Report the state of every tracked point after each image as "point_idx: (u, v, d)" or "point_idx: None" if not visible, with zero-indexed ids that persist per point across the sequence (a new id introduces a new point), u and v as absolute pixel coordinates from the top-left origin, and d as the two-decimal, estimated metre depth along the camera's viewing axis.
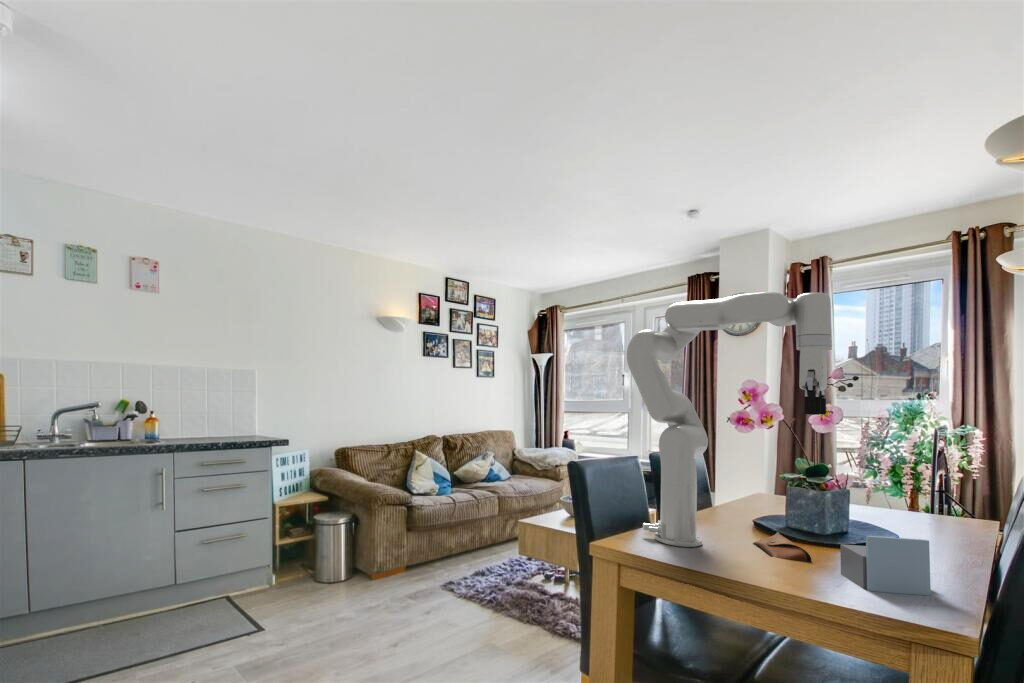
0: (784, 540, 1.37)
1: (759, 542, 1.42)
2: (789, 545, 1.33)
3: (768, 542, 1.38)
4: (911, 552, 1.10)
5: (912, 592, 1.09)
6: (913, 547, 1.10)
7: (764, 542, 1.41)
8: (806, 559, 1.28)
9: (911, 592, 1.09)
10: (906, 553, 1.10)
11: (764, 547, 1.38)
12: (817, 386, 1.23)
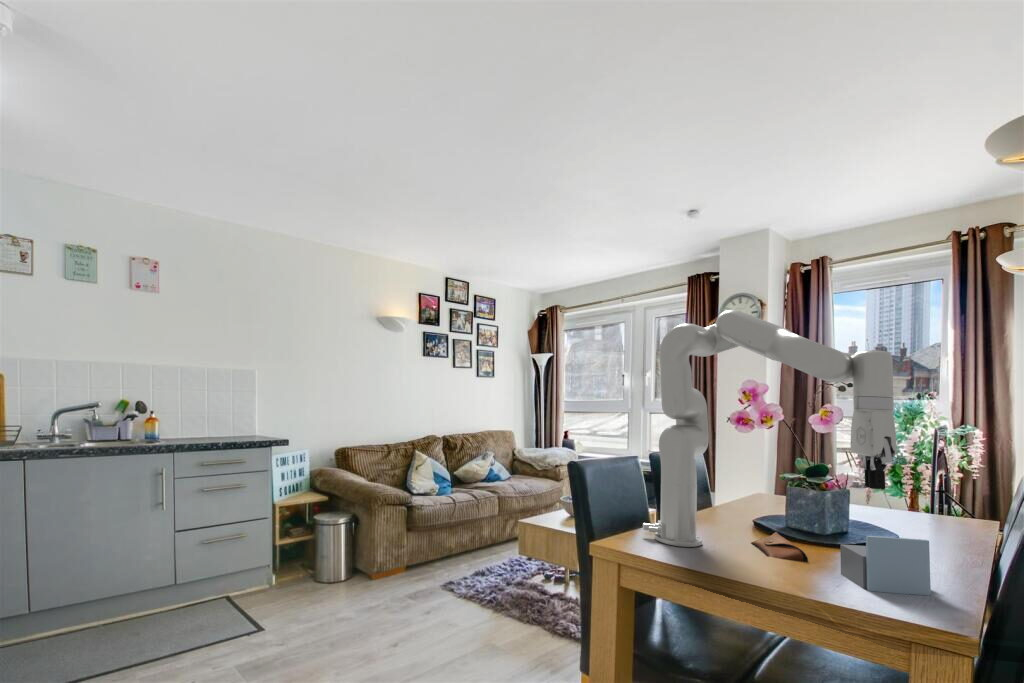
0: (781, 540, 1.37)
1: (757, 542, 1.43)
2: (786, 545, 1.33)
3: (765, 542, 1.39)
4: (911, 552, 1.10)
5: (912, 592, 1.09)
6: (913, 547, 1.10)
7: (762, 542, 1.41)
8: (802, 559, 1.29)
9: (911, 592, 1.09)
10: (906, 553, 1.10)
11: (762, 546, 1.38)
12: None
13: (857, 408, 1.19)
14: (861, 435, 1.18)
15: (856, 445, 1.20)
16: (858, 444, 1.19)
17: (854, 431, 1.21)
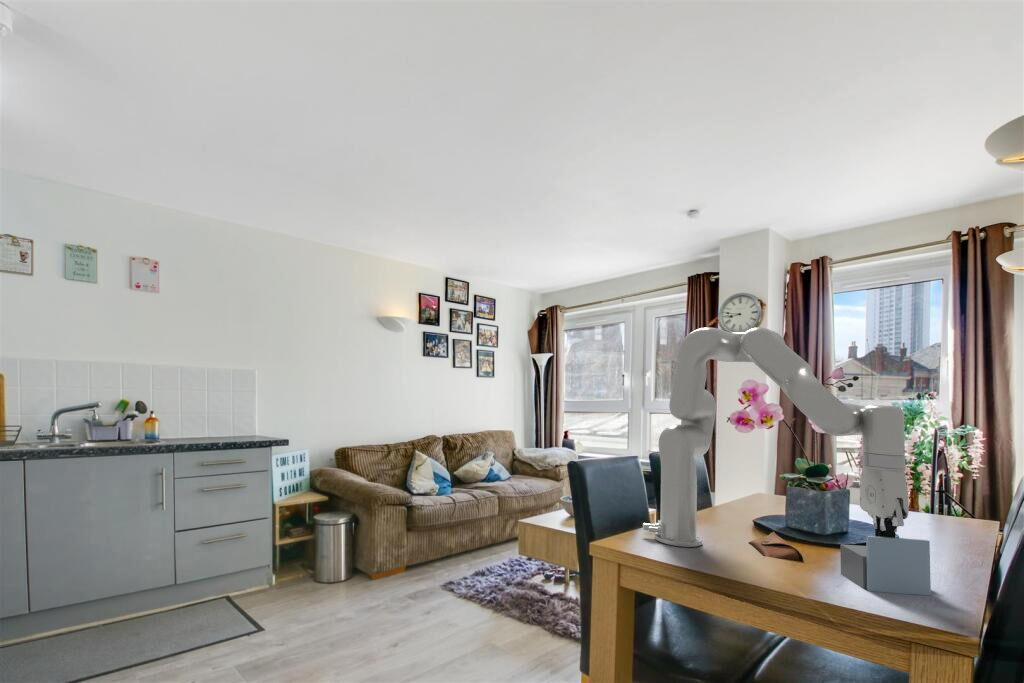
0: (778, 540, 1.37)
1: (754, 541, 1.43)
2: (782, 544, 1.33)
3: (762, 541, 1.39)
4: (911, 552, 1.09)
5: (912, 592, 1.09)
6: (913, 547, 1.09)
7: (759, 541, 1.41)
8: (798, 559, 1.29)
9: (911, 592, 1.09)
10: (907, 554, 1.09)
11: (758, 546, 1.39)
12: None
13: (867, 465, 1.14)
14: (871, 494, 1.14)
15: (866, 503, 1.16)
16: (868, 502, 1.15)
17: (863, 488, 1.17)
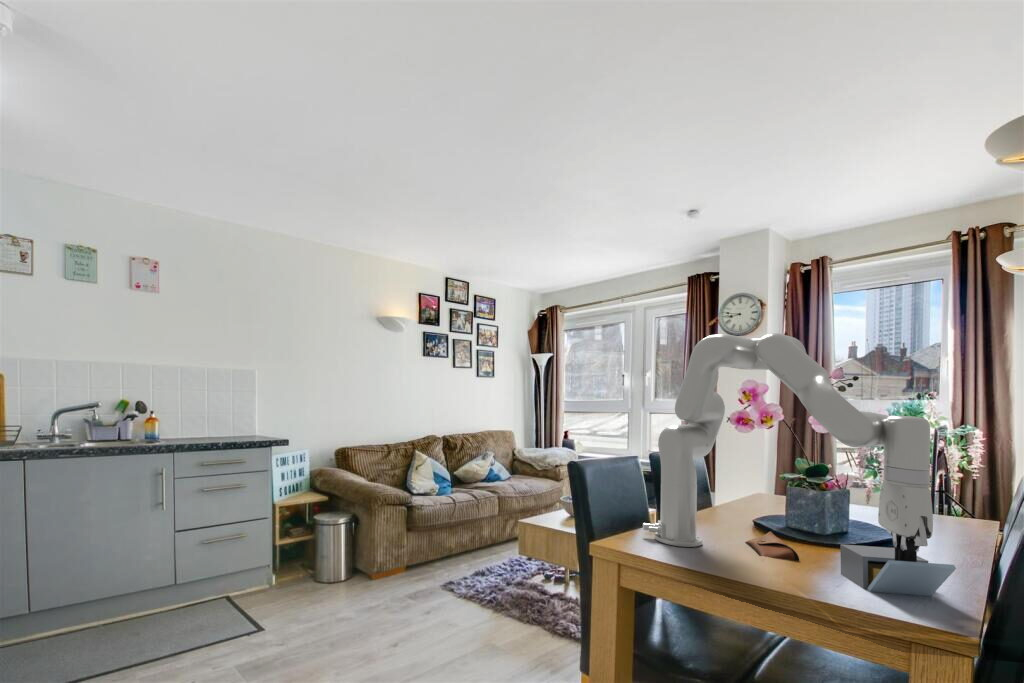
0: (774, 539, 1.37)
1: (751, 541, 1.43)
2: (778, 544, 1.34)
3: (758, 541, 1.39)
4: (930, 574, 1.04)
5: (912, 594, 1.09)
6: (935, 571, 1.03)
7: (755, 541, 1.41)
8: (794, 558, 1.29)
9: (911, 594, 1.09)
10: (924, 574, 1.04)
11: (755, 546, 1.39)
12: None
13: (889, 480, 1.07)
14: (892, 510, 1.06)
15: (885, 519, 1.08)
16: (888, 519, 1.08)
17: (883, 503, 1.09)
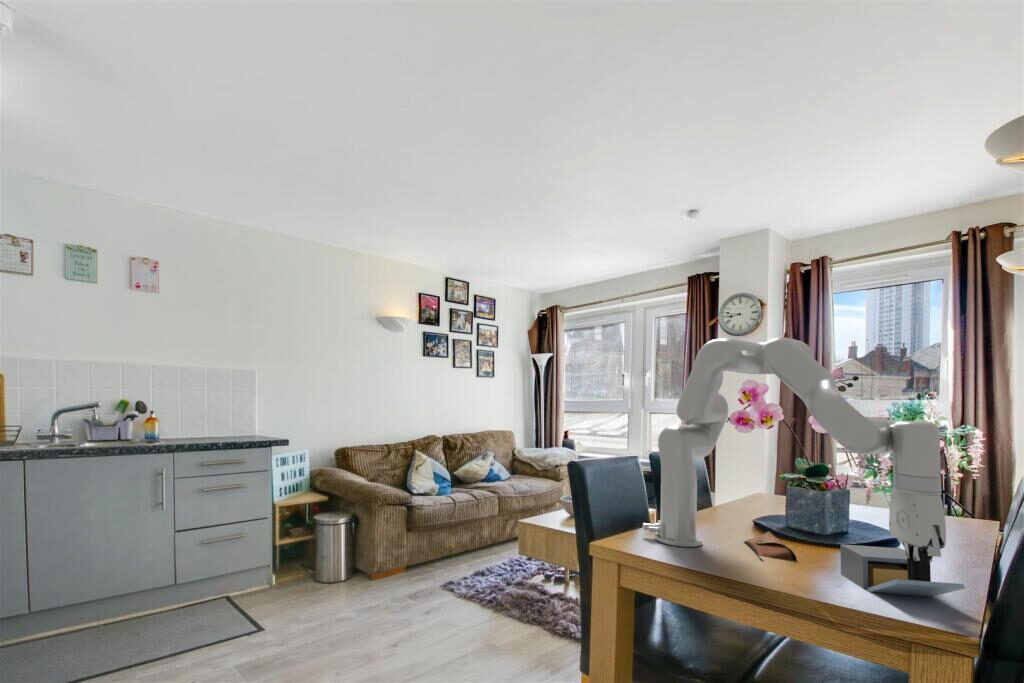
0: (772, 539, 1.37)
1: (749, 541, 1.43)
2: (776, 544, 1.34)
3: (756, 541, 1.39)
4: (936, 589, 1.02)
5: None
6: (942, 588, 1.01)
7: (753, 541, 1.41)
8: (791, 558, 1.29)
9: None
10: (930, 589, 1.02)
11: (753, 545, 1.39)
12: None
13: (898, 488, 1.03)
14: (903, 519, 1.03)
15: (896, 529, 1.05)
16: (899, 529, 1.04)
17: (894, 512, 1.06)
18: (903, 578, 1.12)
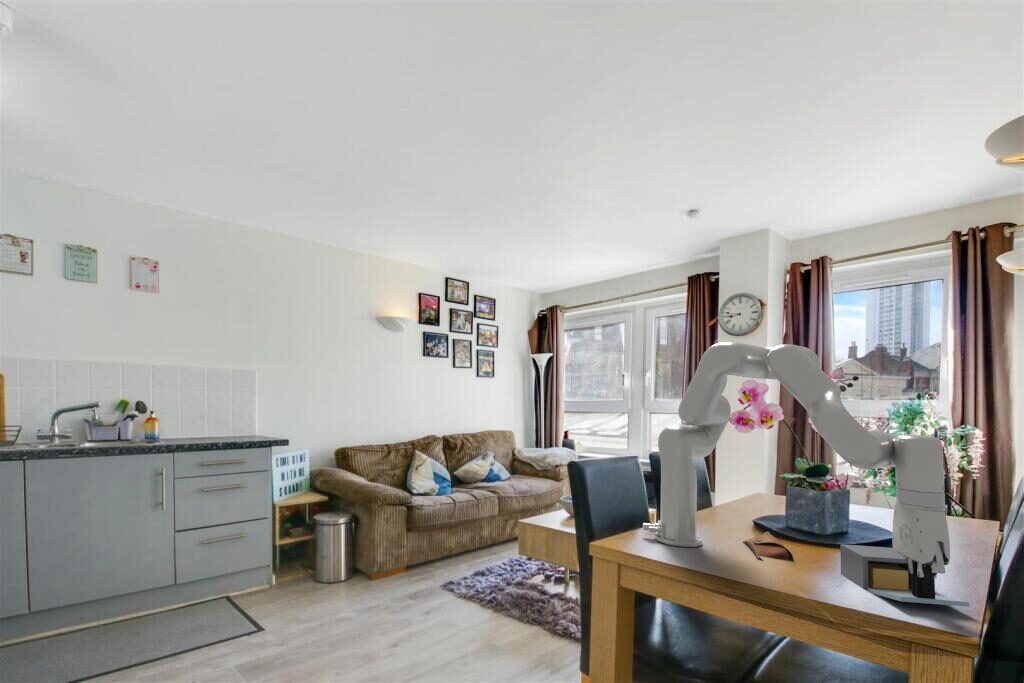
0: (770, 539, 1.37)
1: (748, 541, 1.43)
2: (773, 544, 1.34)
3: (755, 541, 1.39)
4: None
5: None
6: None
7: (752, 541, 1.42)
8: (788, 558, 1.29)
9: None
10: None
11: (751, 545, 1.39)
12: None
13: (901, 503, 1.02)
14: (906, 535, 1.02)
15: (900, 545, 1.03)
16: (903, 544, 1.03)
17: (897, 527, 1.05)
18: (903, 578, 1.12)
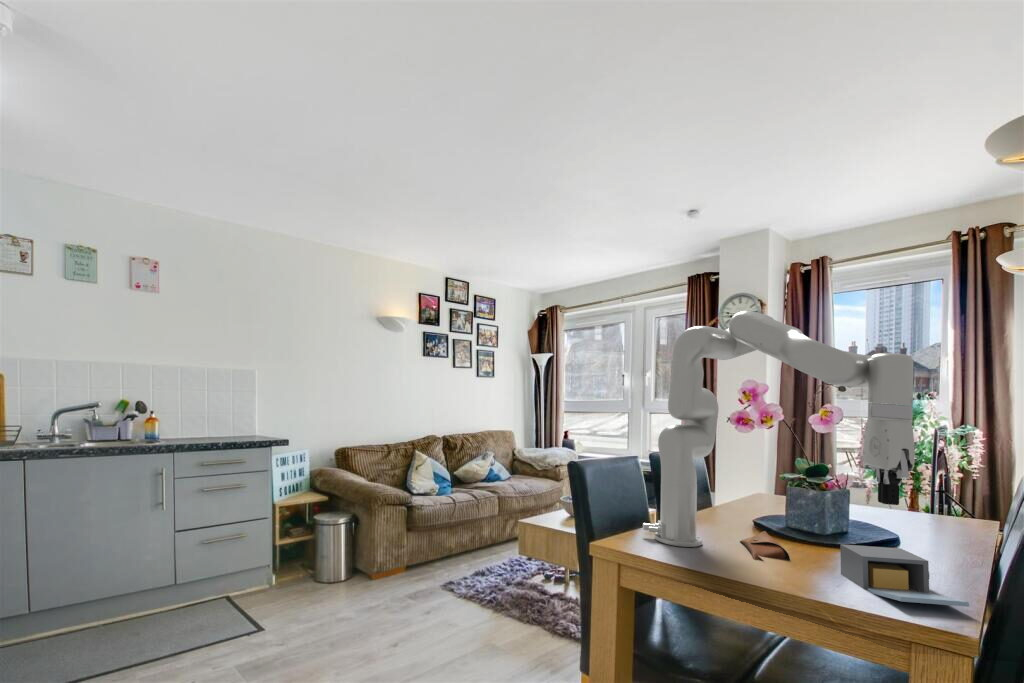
0: (767, 538, 1.38)
1: (744, 540, 1.44)
2: (770, 543, 1.34)
3: (751, 540, 1.40)
4: None
5: None
6: None
7: (748, 540, 1.42)
8: (784, 557, 1.29)
9: None
10: None
11: (747, 545, 1.39)
12: None
13: (872, 416, 1.08)
14: (875, 446, 1.08)
15: (869, 456, 1.10)
16: (871, 455, 1.09)
17: (867, 441, 1.11)
18: (903, 578, 1.12)
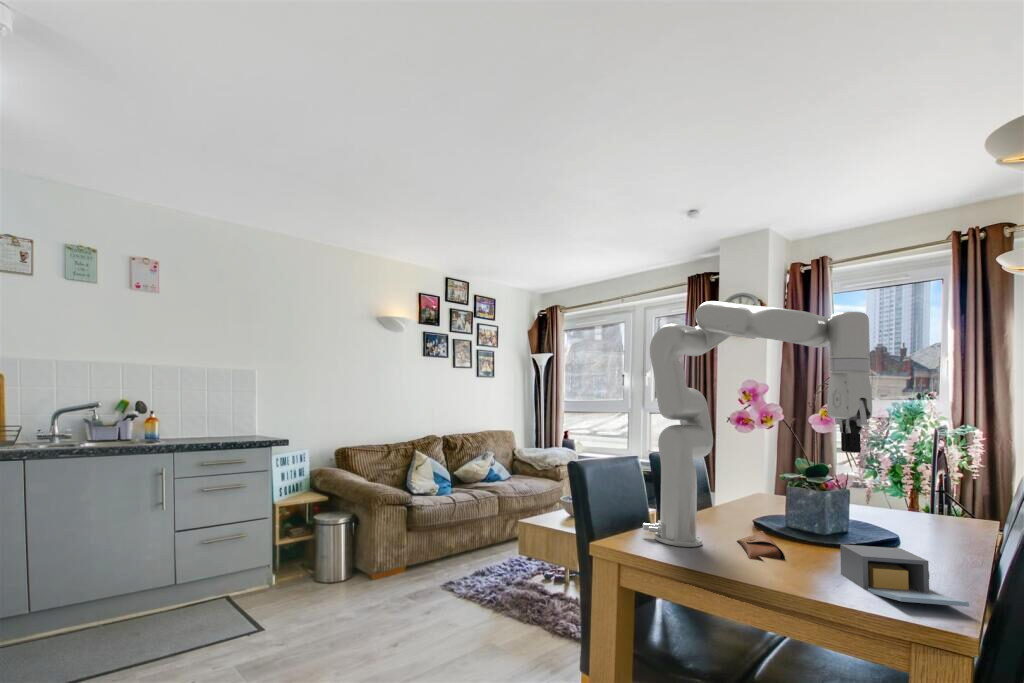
0: (763, 538, 1.38)
1: (741, 540, 1.44)
2: (765, 543, 1.34)
3: (748, 540, 1.40)
4: None
5: None
6: None
7: (745, 540, 1.42)
8: (779, 557, 1.29)
9: None
10: None
11: (744, 544, 1.40)
12: None
13: (833, 371, 1.16)
14: (837, 398, 1.16)
15: (832, 409, 1.18)
16: (834, 408, 1.17)
17: (830, 395, 1.19)
18: (903, 578, 1.12)
